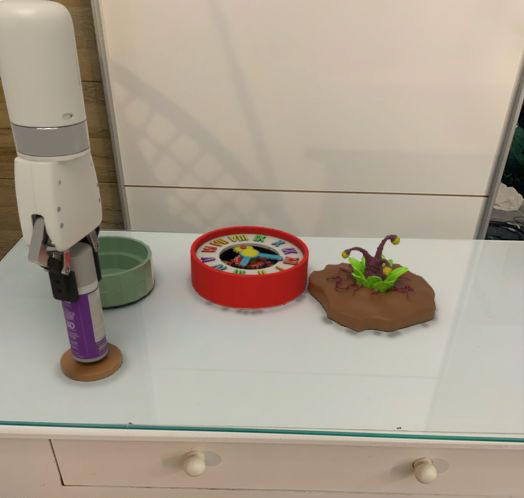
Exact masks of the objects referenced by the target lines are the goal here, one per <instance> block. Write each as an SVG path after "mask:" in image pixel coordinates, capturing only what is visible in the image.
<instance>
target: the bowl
mask: <svg viewBox="0 0 524 498" xmlns="http://www.w3.org/2000/svg"><path fill="white" fill-rule="evenodd" d="M98 241H99V249H98V251H95V252H98V256H99V263H100V269H101V276H102V279H101V280H100V281H99V282H98V286H99V292H100V299H101V306H102V308H113V307H118V306H123V305H126V304H131V303H133V302H137V301H138V300H140V299H142V298H143V297H145V296H147V295H148V294H149V293H150V292H151V291H152V290H153V288H154V285H155V274H154V273H155V271H154V261H153V259H154V258H153V251H152V249H151V247H150V245H148V244H146V243H145V242H144V241H142V240H140V239H137V238H133V237H129V236H122V235H98Z"/></svg>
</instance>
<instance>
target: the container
mask: <svg viewBox="0 0 524 498" xmlns="http://www.w3.org/2000/svg"><path fill="white" fill-rule="evenodd" d="M53 257H54V258H56V259H58V260H59V261H60V252H54V251H53ZM70 267H71V270H70V271H74V272H75V276H76V282H77V288H78V293H79V301H78V302H76V303H73V302H67V301H61V306H62V311H63V315H64V316H63V317H64V321H65V327H66V332H67V336H68V341H69V348H71V352H72V356H73V358H74V359H75V360H77V361H80V362H94V361H97V360H100V359H102V358H103V357H105V356H106V354H107V353H108V347H107V342H108V341H107V335H106V328H105V321H104V314H103V313H104V312H103V307H102V306H101V299H100V292H99V286H98V280H97V274H96V269H95V263H94V258H93V252H92V247H91V246H90V245H89V244H87V243H83V242H77V243H75V244H74V245H73V246H71V247H70Z"/></svg>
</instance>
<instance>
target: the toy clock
mask: <svg viewBox="0 0 524 498" xmlns="http://www.w3.org/2000/svg"><path fill="white" fill-rule="evenodd" d="M189 251H190V252H189V253H190V276H191V277H190V278H191V286H192V288H193V290H194V291H195V292H196V293H197V294H198V295H199V296H200V297H202V298H203V299H205V300H206V301H208V302H211V303H213V304H216V305H219V306H222V307H226V308H231V309H238V310H264V309H265V310H266V309H272V308H277V307H280V306H284V305H286V304H289V303H291V302H293V301H295V300H296V299H298V298H299V297H300V296H302V295H303V293H304V292H305V291H306V289H307V288H306V287H307V281H308V270H309V269H308V268H309V257H310V250H309V247H308V245H307V244H306V243H305V242H304V241H303V240H302V239H301V238H299V237H298V236H296V235H294V234H291V233H290V232H286V231H284V230H281V229H276V228H273V227H267V226H257V225H239V226H238V225H235V226H227V227H226V226H225V227H223V228H217V229H214V230H211V231H208V232H206V233H204V234H202V235H200V236H198V237H197V238H195V240H194V241H193V242H192V244H191V245H190V249H189Z"/></svg>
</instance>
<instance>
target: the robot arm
mask: <svg viewBox="0 0 524 498" xmlns="http://www.w3.org/2000/svg"><path fill="white" fill-rule="evenodd" d="M74 27H75V26H74V22H73V18H72V16H71V13H70V11H69V10H68V8H67V7H66V6H65V5H63V4H62V3H60V2H57V1H54V0H53V1H52V0H0V80H1V86H2V89H3V95H4V100H5V105H6V110H7V113H8V118H9V119H8V120H9V123H10V128H11V132H12V137H13V141H14V146H15V150H16V155H17V156H15V158H14V168H13V169H14V186H15V198H16V205H17V211H18V218H19V223H20V228H21V233H22V234H21V235H22V237H23V241H24V244H25V245H26V247H27V248H29V249H28V254H27V261H28V262H29V263H31V264H34V265H36V266H39V267H40V268H42V269H43V271H44V272H46V273H48V278H49V283H50V288H51V293H52V297H53V299H54V300H58V301H61V302H62V301H67V302H73V303H76V302H78V301H79V293H78V288H77V282H76V276H75V272H74V271H70V270H71V267H70V247H71V246H73V245H74V244H75V243H77V242H83V243H87V244H89V245H90V246H91V247H92V252H93V258H94V263H95V269H96V274H97V280H98V282H99V281H100V280H101V279H102V276H101V269H100V263H99V256H98V252H95V251H98V249H99V241H98V236H100V232H101V230H100V229H101V228H100V226H101V224H102V221H103V218H104V211H103V209H102V208H103V207H102V199H101V192H100V186H99V181H98V177H97V172H96V167H95V164H94V160H93V156H92V152H91V150H92V149H91V142H90V135H89V128H88V121H87V113H86V107H85V100H84V91H83V84H82V75H81V69H80V62H79V56H78V55H79V54H78V48H77V41H76V34H75V28H74ZM53 251H54V252H60V261H59V260H58V259H56V258H54V255H53Z"/></svg>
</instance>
